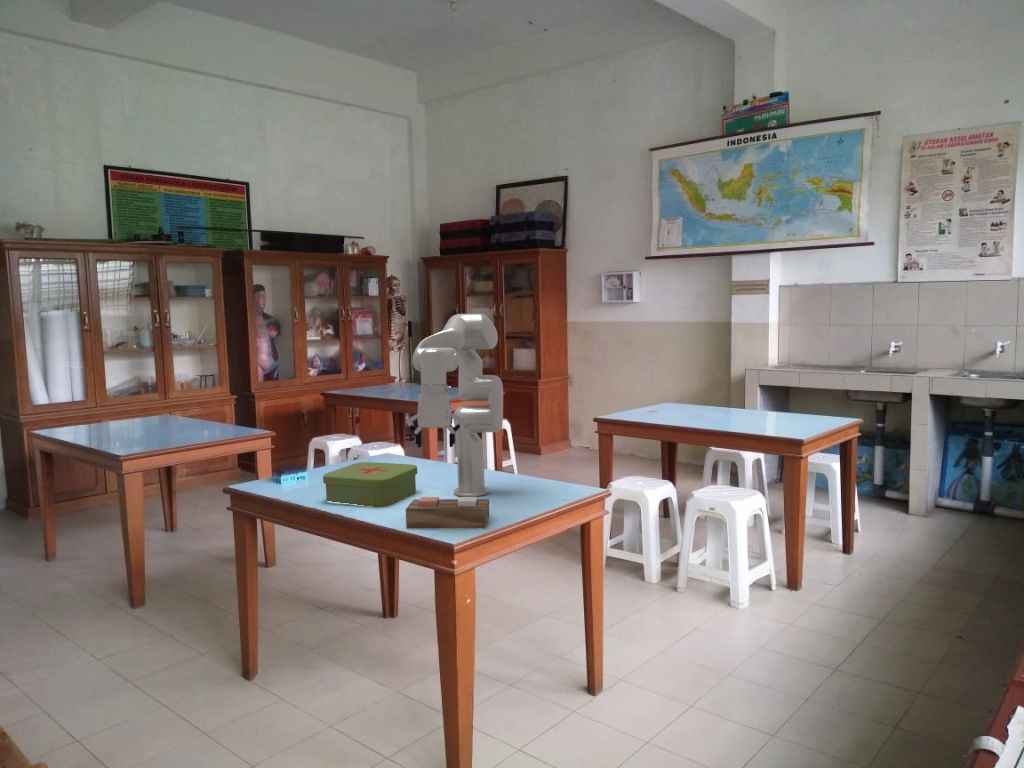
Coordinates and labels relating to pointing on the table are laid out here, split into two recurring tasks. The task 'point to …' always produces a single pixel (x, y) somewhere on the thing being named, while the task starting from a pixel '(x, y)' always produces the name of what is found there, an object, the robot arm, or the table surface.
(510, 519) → the table surface
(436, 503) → the key red
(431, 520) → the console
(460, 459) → the robot arm
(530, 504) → the table surface
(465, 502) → the key ivory
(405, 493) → the first aid kit
